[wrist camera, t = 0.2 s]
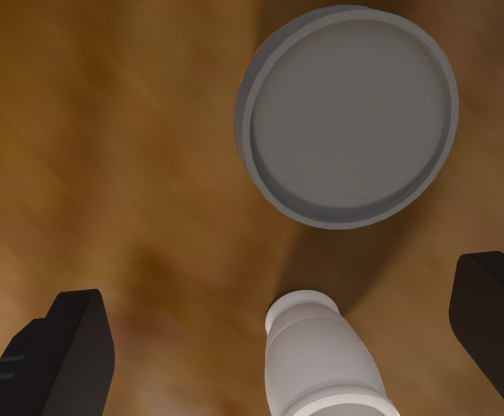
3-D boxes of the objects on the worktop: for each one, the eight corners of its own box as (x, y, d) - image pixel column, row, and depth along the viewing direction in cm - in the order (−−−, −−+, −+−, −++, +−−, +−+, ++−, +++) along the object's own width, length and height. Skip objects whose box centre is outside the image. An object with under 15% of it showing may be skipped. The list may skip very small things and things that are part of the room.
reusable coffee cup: (265, 182, 40) (296, 267, 26) (197, 57, 35) (191, 81, 21) (388, 118, 38) (487, 173, 25) (336, -22, 33) (425, -50, 20)
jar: (362, 328, 48) (423, 451, 34) (284, 369, 50) (314, 502, 36) (321, 263, 44) (372, 372, 30) (237, 309, 45) (250, 434, 32)
